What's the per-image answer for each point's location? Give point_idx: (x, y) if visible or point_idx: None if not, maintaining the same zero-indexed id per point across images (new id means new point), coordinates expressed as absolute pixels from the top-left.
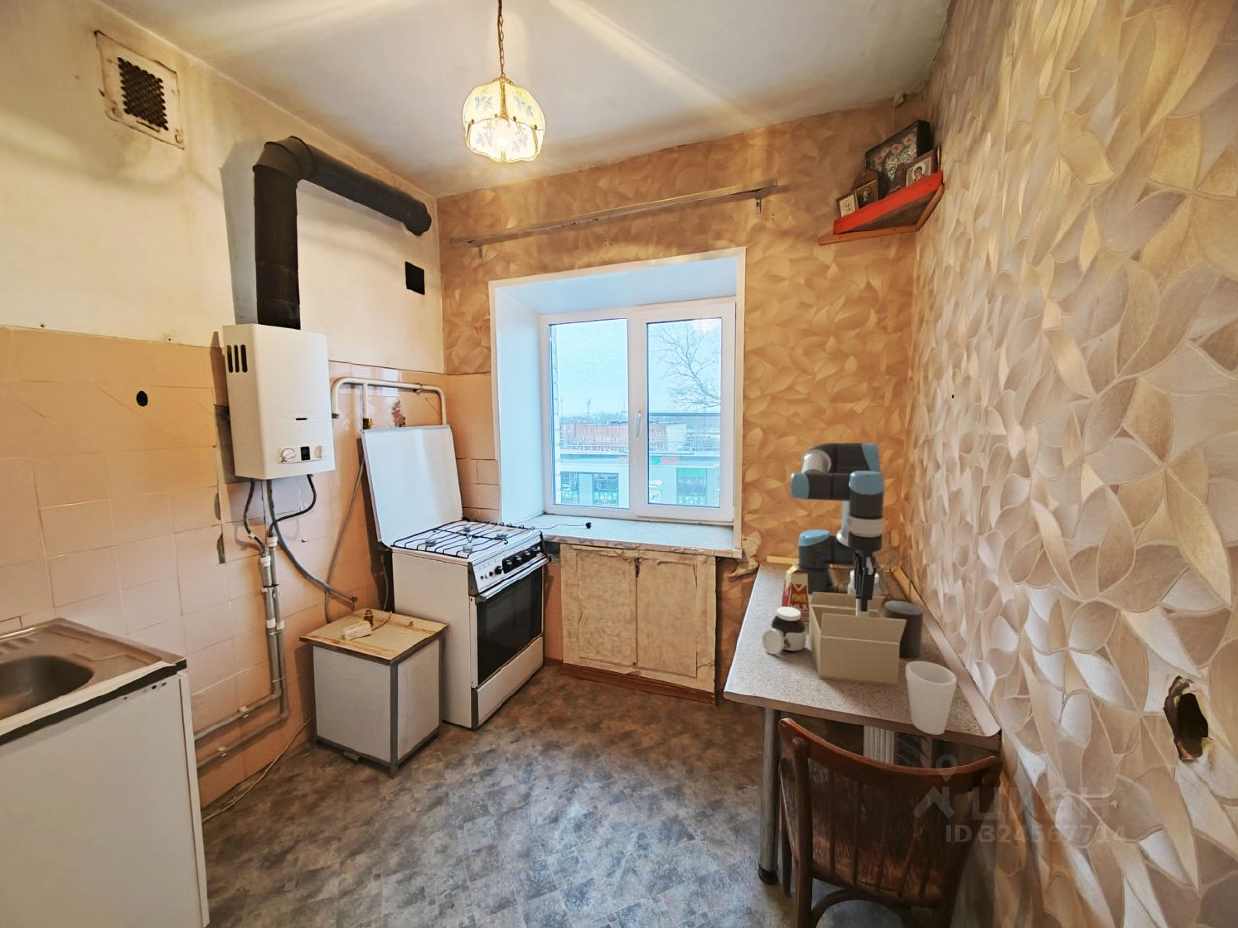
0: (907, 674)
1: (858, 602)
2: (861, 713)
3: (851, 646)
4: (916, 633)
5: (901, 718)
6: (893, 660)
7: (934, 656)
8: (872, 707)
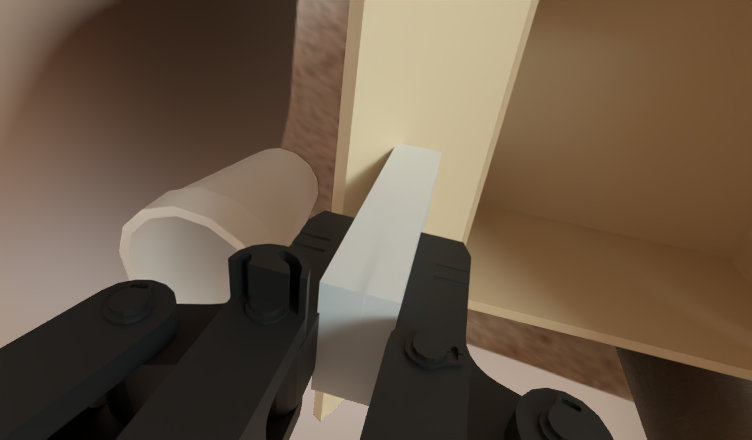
0: (193, 199)
1: (338, 251)
2: (300, 6)
3: None
4: (640, 415)
5: (297, 128)
6: None
7: (613, 385)
8: (338, 62)
